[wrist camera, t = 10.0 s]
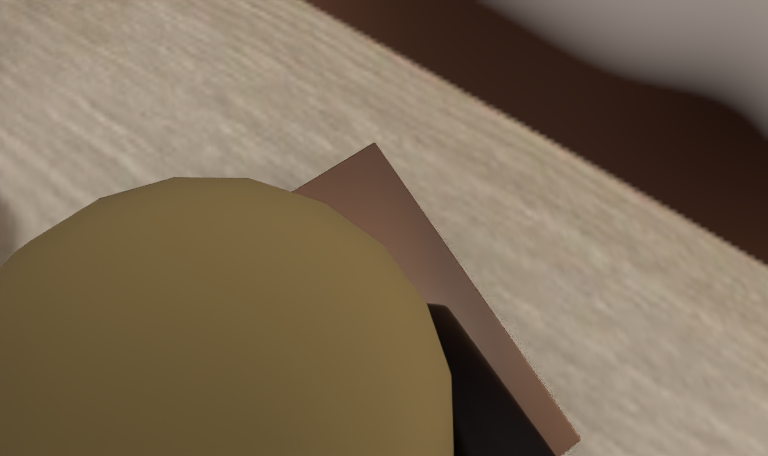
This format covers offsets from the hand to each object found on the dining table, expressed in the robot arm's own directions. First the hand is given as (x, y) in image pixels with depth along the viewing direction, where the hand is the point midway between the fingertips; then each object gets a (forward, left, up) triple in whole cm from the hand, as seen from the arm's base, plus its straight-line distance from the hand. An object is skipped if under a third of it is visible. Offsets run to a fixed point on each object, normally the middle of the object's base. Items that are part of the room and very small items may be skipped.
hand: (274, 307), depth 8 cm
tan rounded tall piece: (-1, -1, -7) cm, 7 cm away
